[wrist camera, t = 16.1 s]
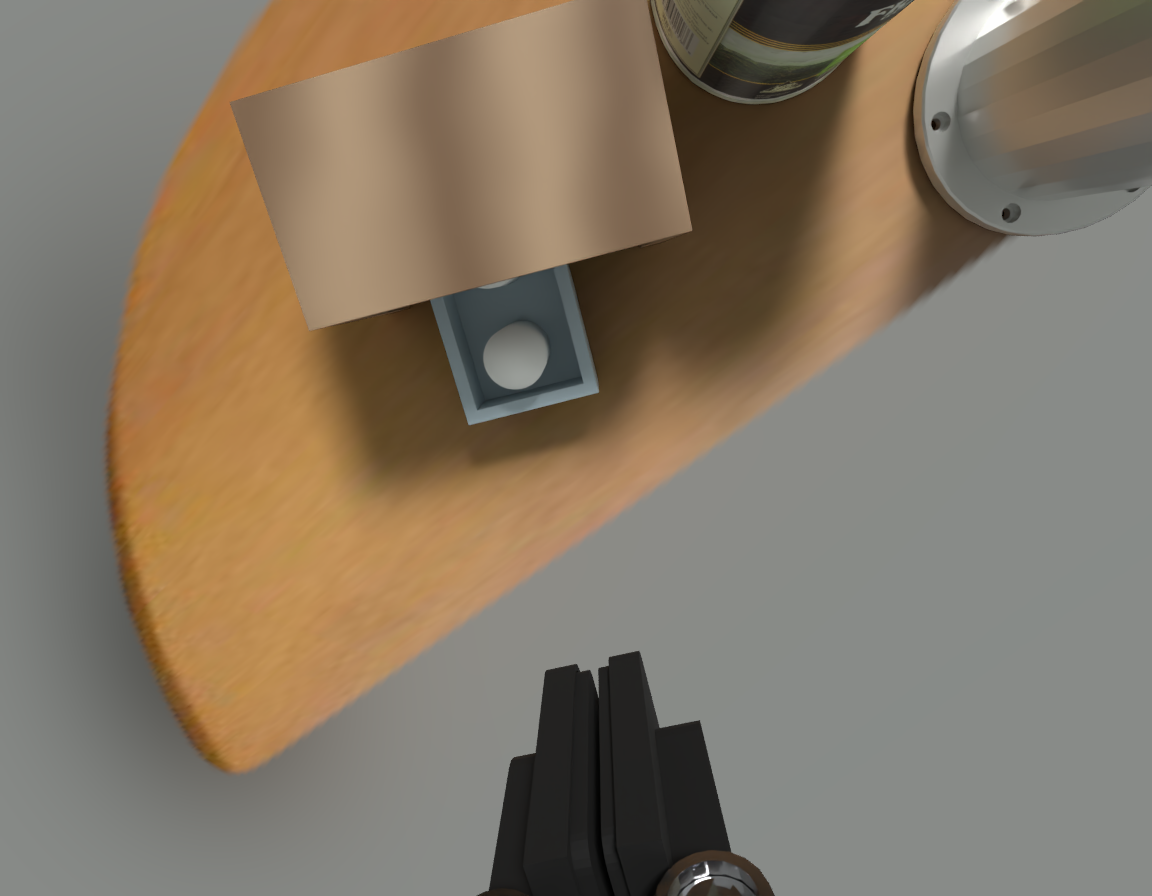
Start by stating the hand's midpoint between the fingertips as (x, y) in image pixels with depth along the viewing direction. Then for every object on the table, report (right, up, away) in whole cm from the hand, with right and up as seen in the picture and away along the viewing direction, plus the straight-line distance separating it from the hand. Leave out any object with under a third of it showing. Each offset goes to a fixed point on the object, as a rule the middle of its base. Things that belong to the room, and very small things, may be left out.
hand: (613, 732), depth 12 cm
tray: (-4, +12, +23) cm, 26 cm away
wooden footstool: (-4, +17, +21) cm, 28 cm away
